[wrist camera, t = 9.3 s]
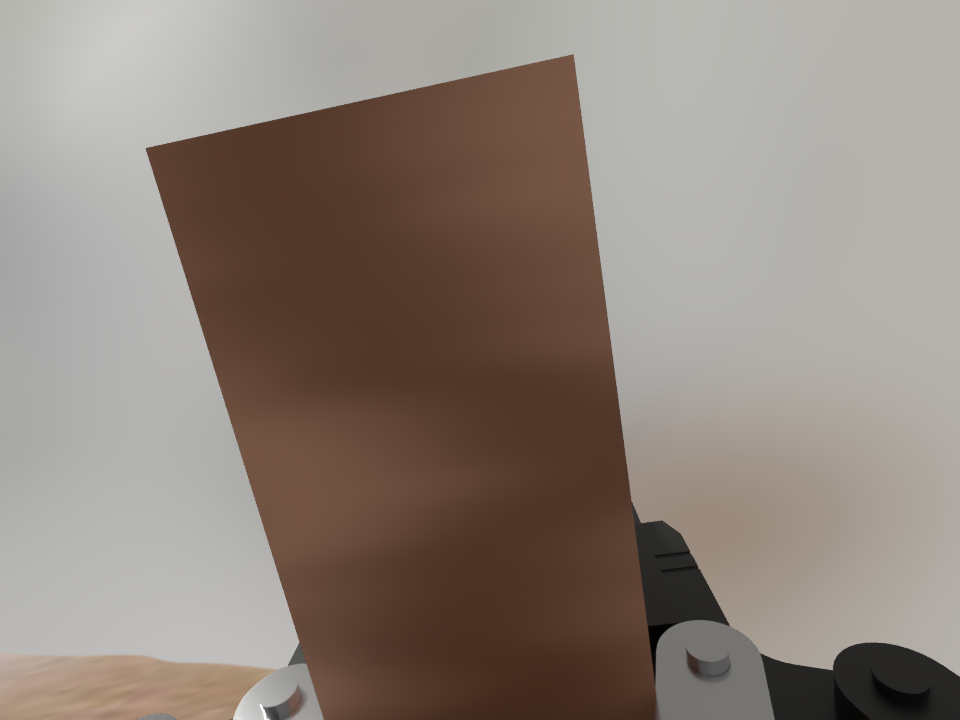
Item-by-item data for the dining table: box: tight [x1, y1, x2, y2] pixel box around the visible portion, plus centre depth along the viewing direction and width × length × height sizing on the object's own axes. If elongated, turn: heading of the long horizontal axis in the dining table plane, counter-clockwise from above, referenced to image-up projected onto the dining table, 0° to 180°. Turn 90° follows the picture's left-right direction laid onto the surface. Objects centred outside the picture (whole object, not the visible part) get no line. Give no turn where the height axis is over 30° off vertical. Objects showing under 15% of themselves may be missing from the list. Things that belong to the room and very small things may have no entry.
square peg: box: [146, 55, 656, 720], centre depth 9 cm, size 4×4×18 cm
